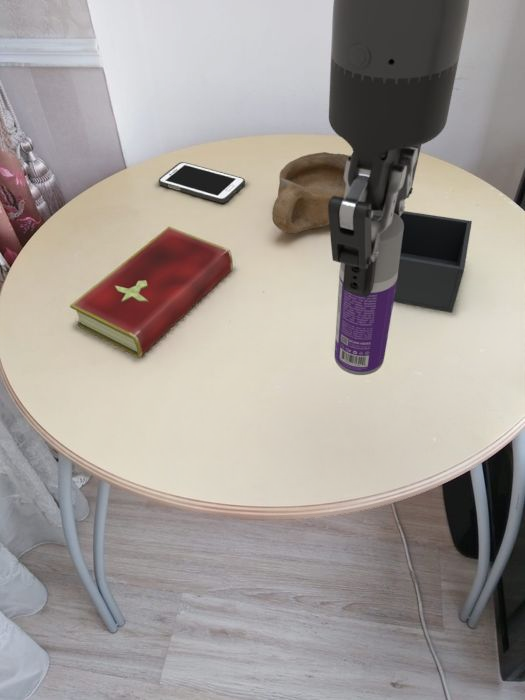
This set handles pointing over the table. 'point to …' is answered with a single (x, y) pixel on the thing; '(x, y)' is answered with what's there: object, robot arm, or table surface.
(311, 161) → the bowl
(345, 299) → the container
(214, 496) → the table surface
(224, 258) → the hardcover book
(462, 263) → the bin
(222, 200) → the cell phone
